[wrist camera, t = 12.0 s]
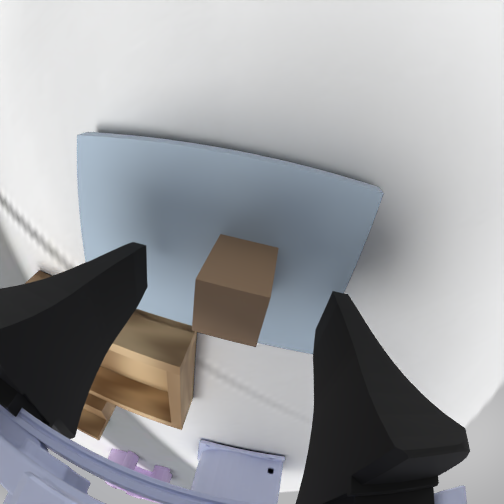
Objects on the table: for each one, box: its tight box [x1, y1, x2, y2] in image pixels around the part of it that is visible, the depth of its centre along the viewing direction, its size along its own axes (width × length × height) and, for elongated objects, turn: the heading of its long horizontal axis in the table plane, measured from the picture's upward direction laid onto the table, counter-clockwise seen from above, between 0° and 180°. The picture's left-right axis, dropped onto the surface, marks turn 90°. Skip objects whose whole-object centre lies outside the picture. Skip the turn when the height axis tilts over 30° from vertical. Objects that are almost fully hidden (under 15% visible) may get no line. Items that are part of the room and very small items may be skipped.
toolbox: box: [25, 270, 197, 440], centre depth 17 cm, size 22×11×6 cm, turn 80°
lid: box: [77, 132, 384, 354], centre depth 12 cm, size 13×9×5 cm
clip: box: [105, 449, 172, 504], centre depth 39 cm, size 20×12×7 cm, turn 148°
